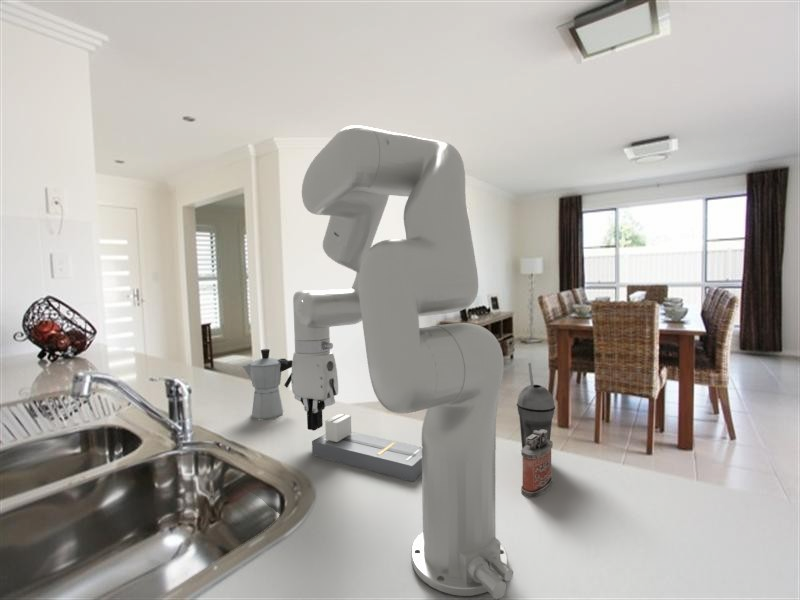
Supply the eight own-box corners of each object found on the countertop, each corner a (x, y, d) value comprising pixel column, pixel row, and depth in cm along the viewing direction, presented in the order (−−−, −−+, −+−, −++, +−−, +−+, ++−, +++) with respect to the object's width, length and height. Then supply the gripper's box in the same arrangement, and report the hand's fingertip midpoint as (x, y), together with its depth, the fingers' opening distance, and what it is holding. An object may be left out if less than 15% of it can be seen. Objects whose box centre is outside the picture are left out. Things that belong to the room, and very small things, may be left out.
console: (431, 463, 82) (431, 448, 82) (412, 481, 75) (412, 465, 75) (336, 441, 94) (335, 427, 94) (312, 454, 87) (311, 440, 87)
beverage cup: (557, 472, 78) (558, 368, 76) (517, 469, 79) (518, 367, 78) (551, 455, 85) (552, 359, 83) (515, 452, 86) (515, 358, 85)
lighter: (538, 475, 76) (539, 423, 76) (556, 482, 74) (557, 428, 73) (516, 492, 71) (516, 436, 70) (535, 500, 68) (535, 441, 68)
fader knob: (351, 433, 90) (350, 415, 89) (337, 442, 85) (336, 422, 85) (340, 431, 91) (339, 413, 91) (325, 439, 87) (325, 420, 86)
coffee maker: (240, 422, 107) (237, 353, 106) (245, 411, 115) (242, 347, 114) (299, 416, 110) (297, 350, 109) (299, 406, 119) (297, 344, 118)
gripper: (350, 346, 89) (352, 428, 91) (299, 341, 97) (301, 417, 98) (328, 352, 83) (330, 440, 84) (275, 346, 90) (278, 428, 92)
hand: (315, 427), depth 91 cm, fingers closed
